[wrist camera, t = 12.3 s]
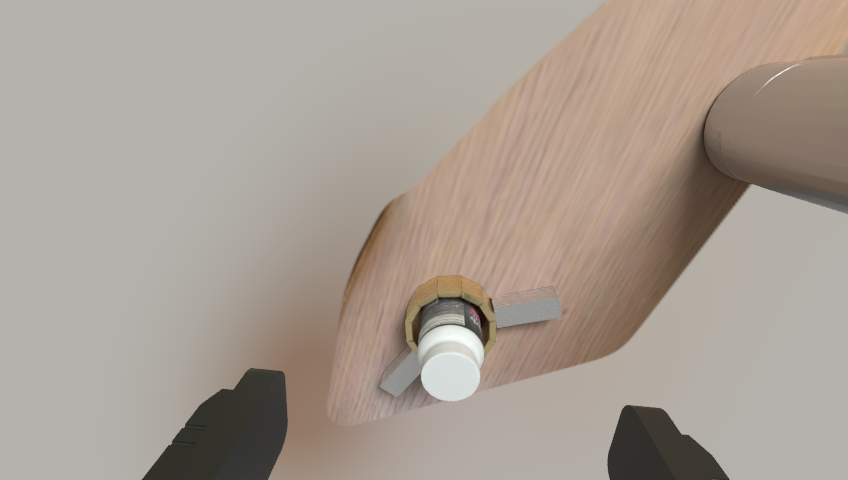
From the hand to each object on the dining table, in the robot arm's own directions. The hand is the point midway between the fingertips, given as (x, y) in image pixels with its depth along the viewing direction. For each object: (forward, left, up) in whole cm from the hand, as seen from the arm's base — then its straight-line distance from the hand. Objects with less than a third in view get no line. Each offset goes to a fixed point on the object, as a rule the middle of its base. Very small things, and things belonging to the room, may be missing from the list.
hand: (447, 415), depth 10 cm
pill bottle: (+7, +12, -28) cm, 31 cm away
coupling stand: (+7, +12, -28) cm, 31 cm away
